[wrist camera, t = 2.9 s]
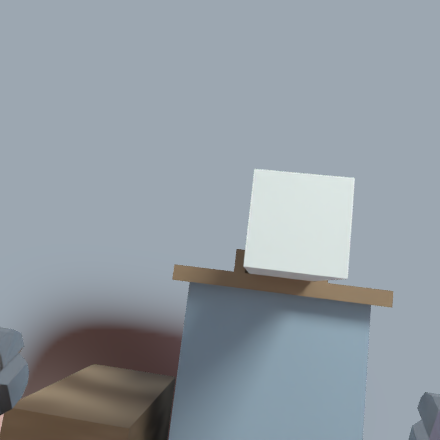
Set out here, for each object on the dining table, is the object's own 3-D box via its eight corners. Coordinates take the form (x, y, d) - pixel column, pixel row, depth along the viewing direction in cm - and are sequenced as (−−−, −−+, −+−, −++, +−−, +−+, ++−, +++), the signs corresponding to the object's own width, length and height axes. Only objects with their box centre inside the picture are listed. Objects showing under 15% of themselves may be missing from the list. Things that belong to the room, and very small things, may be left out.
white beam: (347, 278, 15) (354, 178, 15) (243, 266, 15) (254, 168, 16) (292, 282, 38) (296, 242, 39) (252, 277, 39) (256, 238, 39)
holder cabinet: (366, 796, 20) (394, 267, 24) (109, 726, 21) (177, 242, 26) (318, 570, 35) (340, 274, 40) (172, 539, 37) (208, 258, 41)
